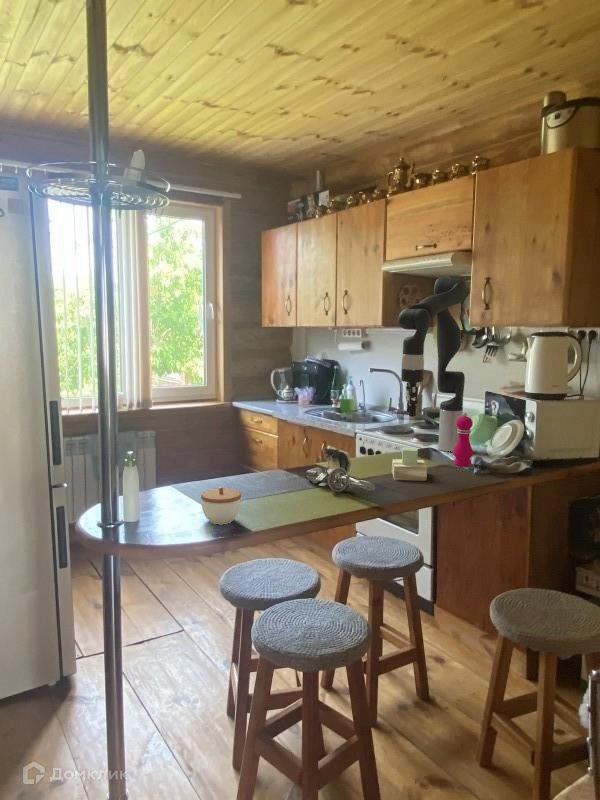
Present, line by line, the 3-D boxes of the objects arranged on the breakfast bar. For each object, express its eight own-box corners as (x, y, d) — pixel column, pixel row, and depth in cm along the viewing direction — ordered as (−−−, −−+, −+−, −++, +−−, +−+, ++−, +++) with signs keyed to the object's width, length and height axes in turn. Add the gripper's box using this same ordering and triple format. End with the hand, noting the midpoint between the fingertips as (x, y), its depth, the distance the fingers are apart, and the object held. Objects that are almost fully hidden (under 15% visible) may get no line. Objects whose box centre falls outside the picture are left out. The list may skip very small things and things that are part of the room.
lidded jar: (200, 528, 156) (199, 493, 155) (202, 515, 167) (202, 482, 165) (241, 527, 157) (241, 492, 156) (241, 514, 168) (241, 481, 167)
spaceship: (361, 482, 173) (380, 468, 177) (294, 469, 202) (311, 457, 206) (370, 505, 175) (388, 491, 179) (302, 489, 204) (319, 477, 208)
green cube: (401, 461, 213) (402, 447, 212) (416, 461, 212) (416, 447, 211) (402, 464, 208) (402, 450, 207) (417, 465, 207) (417, 450, 206)
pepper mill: (474, 466, 225) (477, 414, 222) (455, 466, 225) (457, 413, 222) (469, 462, 232) (472, 411, 229) (450, 461, 232) (453, 410, 229)
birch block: (391, 472, 216) (392, 459, 216) (422, 473, 216) (423, 459, 215) (393, 480, 206) (394, 466, 205) (426, 481, 205) (427, 467, 204)
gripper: (400, 365, 213) (398, 411, 215) (403, 369, 199) (401, 417, 201) (421, 366, 212) (419, 411, 214) (426, 369, 198) (424, 418, 200)
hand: (411, 414), depth 208 cm, fingers open, 8 cm apart
